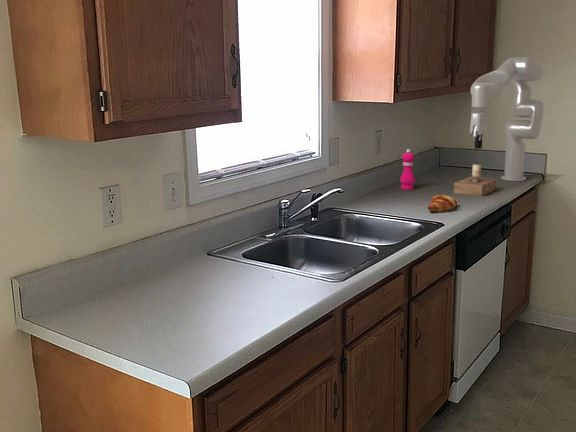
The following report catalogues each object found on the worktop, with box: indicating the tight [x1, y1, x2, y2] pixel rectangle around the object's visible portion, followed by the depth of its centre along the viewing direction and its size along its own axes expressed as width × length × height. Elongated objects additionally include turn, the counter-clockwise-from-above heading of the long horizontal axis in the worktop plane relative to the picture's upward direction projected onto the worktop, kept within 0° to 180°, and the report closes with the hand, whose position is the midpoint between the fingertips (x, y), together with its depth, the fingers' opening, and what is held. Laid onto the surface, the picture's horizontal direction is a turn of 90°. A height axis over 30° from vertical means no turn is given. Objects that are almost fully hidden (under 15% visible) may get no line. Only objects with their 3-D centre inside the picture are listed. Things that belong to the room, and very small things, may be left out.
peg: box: [471, 163, 482, 183], centre depth 317 cm, size 4×4×12 cm
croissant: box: [427, 194, 459, 213], centre depth 283 cm, size 21×10×8 cm, turn 135°
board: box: [453, 176, 498, 197], centre depth 318 cm, size 20×14×5 cm
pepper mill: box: [399, 149, 416, 191], centre depth 326 cm, size 7×7×20 cm
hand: (478, 148), depth 314 cm, fingers closed
